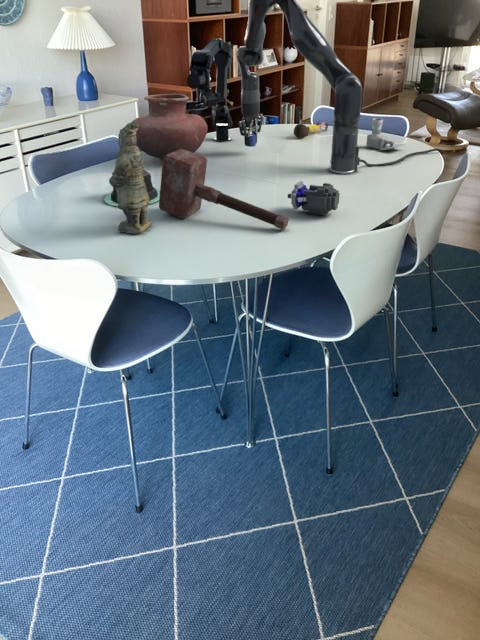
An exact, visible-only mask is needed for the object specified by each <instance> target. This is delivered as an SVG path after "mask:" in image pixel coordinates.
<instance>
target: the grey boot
mask: <svg viewBox="0 0 480 640" xmlns="http://www.w3.org/2000/svg"><path fill="white" fill-rule="evenodd" d="M383 123H384V119H383V118H380V117H376V118H375V117H374V118H372V121H371V125H372V129H371V133H370V134H367V136H366V144H365V148H369V149H375V150H380V151H388V150H396V149H399V148H400V147H403V146H405V145H406V144H405V143H398V144H397V143H396V140H392V139H390V138H389V137H388V136H387V135H381V134H382V126H383ZM380 151H379V152H380Z"/></svg>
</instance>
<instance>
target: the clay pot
mask: <svg viewBox="0 0 480 640" xmlns="http://www.w3.org/2000/svg"><path fill="white" fill-rule="evenodd" d="M143 99H144V101H147V102H148V105H149V113H148V114H147V115H145V116H140V117H136V118H134V119H133V120H132V121H131V122H133V121H137V122H138V123H139V127H138V130H137V131H136V138H137V143H136V146H137V147H138V149H139V150H141V151H142V153H143V154H146V155H148V156H150V157H152V158H155V159H157V160H162V161H163V158H164V156H165V155H167V154H170V153H172V152H174V151H177V150H179V149H184V150H187V151H190V152H192V153H195V154H196V152H197V151H198V150H199V148H200V147H201V146H202V145H203V143H204V141H205V139H206V137H207V135H208V130H209V129H208V128H209V127H208V123H207V121H206V120H205V119H204V117H202V115H199V114H196V113H195V114H196V115H195V114H189V113H186V110H185V109H186V103H187V101H188V100H189V99H190V97H189V96H187V95H186V94H182V93H181V94H180V93H179V94H178V93H166V94H165V93H161V94H151V95H145V96H144V98H143Z"/></svg>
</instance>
